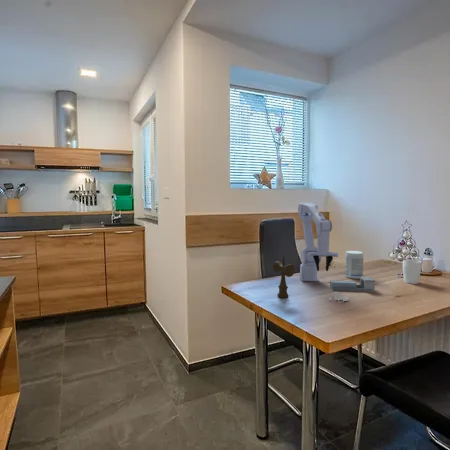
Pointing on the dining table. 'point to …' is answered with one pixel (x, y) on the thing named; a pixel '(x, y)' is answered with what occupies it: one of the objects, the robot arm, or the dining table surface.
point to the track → (365, 285)
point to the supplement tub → (354, 264)
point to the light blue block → (342, 284)
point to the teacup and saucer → (339, 296)
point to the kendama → (283, 276)
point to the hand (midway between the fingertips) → (322, 270)
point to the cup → (411, 270)
